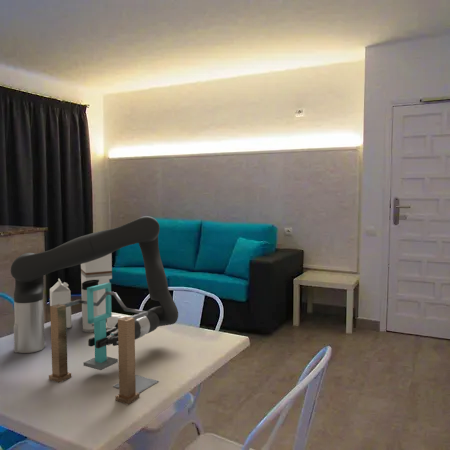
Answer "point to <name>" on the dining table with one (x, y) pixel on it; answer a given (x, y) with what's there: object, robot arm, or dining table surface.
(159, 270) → the robot arm
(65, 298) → the milk carton
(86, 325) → the travel mug
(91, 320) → the turquoise post on base
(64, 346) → the bent wire rig
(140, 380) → the slate pad
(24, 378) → the dining table surface
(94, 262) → the tall white tower
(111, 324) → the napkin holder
